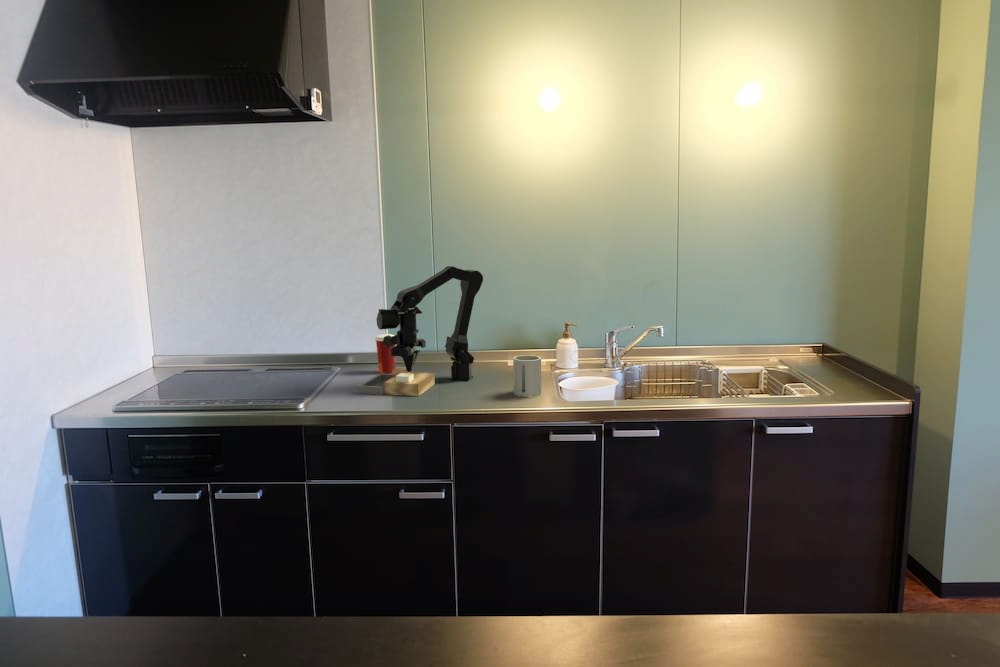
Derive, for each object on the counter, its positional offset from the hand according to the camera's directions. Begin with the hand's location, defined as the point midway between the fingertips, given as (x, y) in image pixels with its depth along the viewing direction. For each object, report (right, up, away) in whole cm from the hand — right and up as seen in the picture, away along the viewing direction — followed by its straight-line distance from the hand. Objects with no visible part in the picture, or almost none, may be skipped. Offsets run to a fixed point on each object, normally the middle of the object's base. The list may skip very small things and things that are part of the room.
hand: (409, 371), depth 237 cm
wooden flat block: (+1, -6, -4) cm, 7 cm away
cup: (+40, -7, -10) cm, 42 cm away
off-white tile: (0, -3, -9) cm, 9 cm away
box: (-9, -5, -1) cm, 11 cm away
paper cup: (-11, -2, +22) cm, 24 cm away
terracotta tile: (-3, -1, +1) cm, 3 cm away
